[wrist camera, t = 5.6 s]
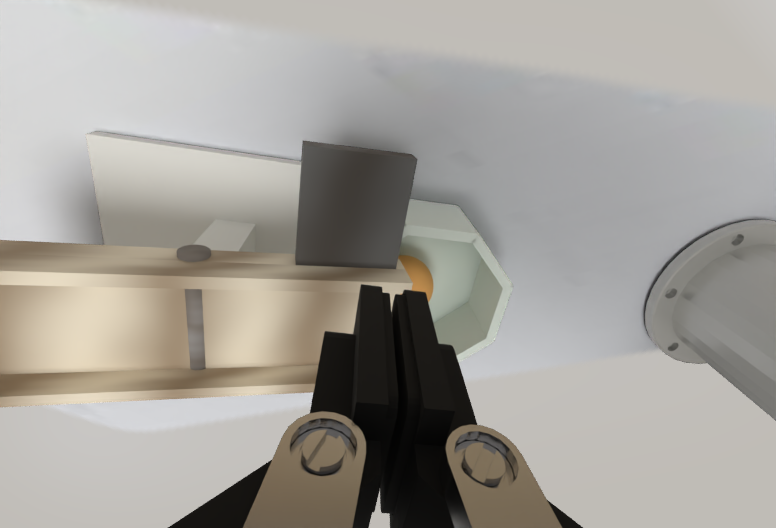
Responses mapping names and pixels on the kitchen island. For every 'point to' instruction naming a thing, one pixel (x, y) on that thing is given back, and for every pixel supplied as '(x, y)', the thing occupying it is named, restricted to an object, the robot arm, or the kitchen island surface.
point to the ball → (418, 274)
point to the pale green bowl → (457, 275)
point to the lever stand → (193, 195)
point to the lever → (204, 298)
